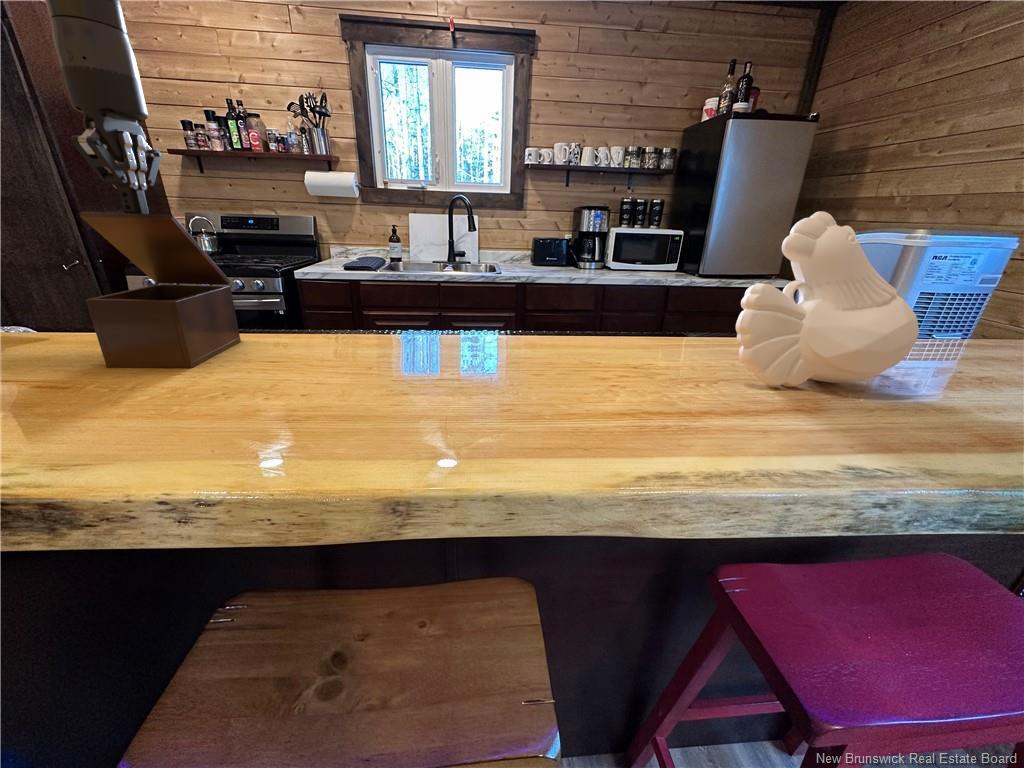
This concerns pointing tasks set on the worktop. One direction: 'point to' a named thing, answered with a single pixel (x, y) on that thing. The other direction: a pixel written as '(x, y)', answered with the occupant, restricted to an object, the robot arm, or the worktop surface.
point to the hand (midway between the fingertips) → (138, 218)
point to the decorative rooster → (824, 313)
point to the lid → (158, 247)
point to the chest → (164, 325)
